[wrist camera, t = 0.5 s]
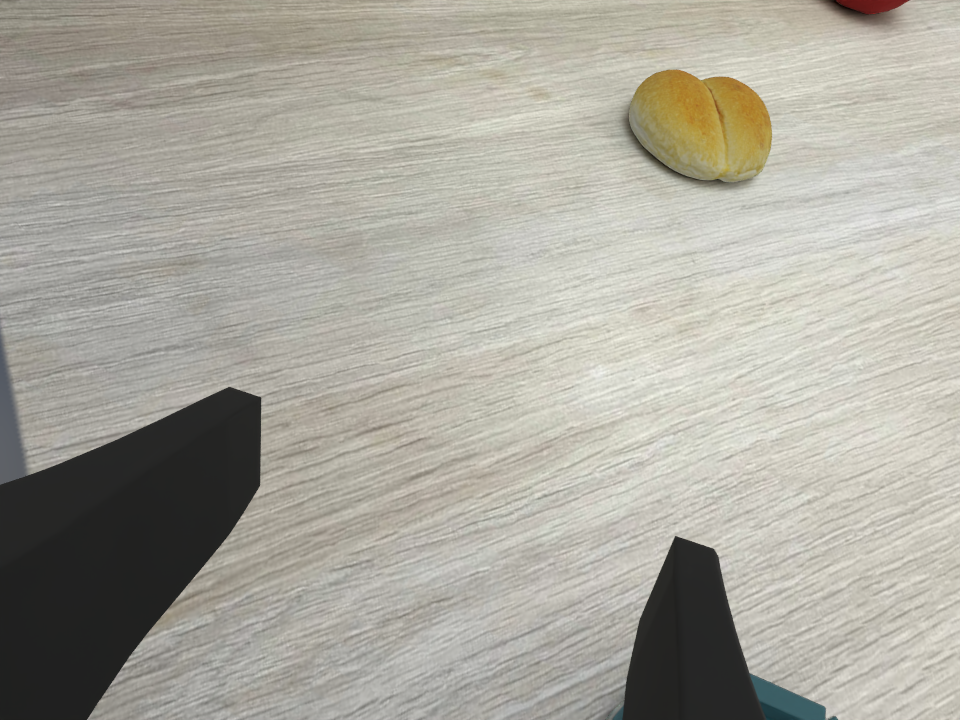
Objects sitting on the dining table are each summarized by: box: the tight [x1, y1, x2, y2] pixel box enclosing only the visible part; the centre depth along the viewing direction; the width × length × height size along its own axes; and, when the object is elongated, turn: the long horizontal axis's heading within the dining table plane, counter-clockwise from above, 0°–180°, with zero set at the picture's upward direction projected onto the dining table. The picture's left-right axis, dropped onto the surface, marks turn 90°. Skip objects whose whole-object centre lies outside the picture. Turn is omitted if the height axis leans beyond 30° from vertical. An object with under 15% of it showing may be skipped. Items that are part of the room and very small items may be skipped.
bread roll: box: [629, 70, 772, 182], centre depth 50 cm, size 8×9×4 cm
